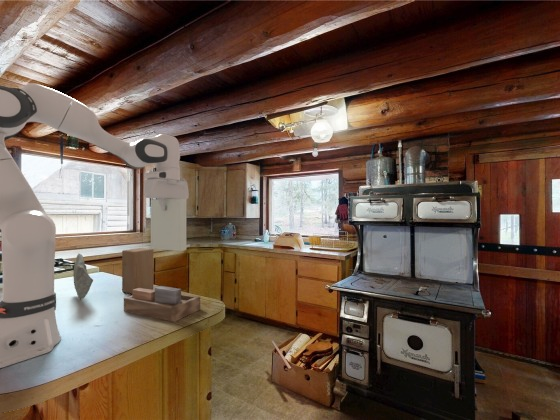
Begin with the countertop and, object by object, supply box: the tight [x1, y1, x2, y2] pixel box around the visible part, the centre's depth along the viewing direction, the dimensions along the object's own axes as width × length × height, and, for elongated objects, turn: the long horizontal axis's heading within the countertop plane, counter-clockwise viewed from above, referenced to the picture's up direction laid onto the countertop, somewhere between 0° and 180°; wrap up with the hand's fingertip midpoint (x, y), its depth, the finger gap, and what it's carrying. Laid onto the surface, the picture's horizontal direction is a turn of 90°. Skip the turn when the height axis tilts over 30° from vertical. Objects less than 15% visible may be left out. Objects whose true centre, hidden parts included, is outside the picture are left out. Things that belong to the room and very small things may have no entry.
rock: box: [72, 253, 94, 301], centre depth 122 cm, size 27×6×20 cm, turn 42°
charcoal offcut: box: [154, 285, 182, 306], centre depth 104 cm, size 3×10×10 cm, turn 66°
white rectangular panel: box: [150, 199, 187, 252], centre depth 112 cm, size 3×16×20 cm, turn 66°
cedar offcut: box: [131, 288, 155, 302], centre depth 109 cm, size 3×10×8 cm, turn 66°
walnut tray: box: [123, 288, 201, 323], centre depth 109 cm, size 14×26×5 cm, turn 66°
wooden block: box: [121, 247, 154, 294], centre depth 136 cm, size 10×10×20 cm
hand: (168, 210), depth 112 cm, fingers closed on white rectangular panel, 3 cm apart
